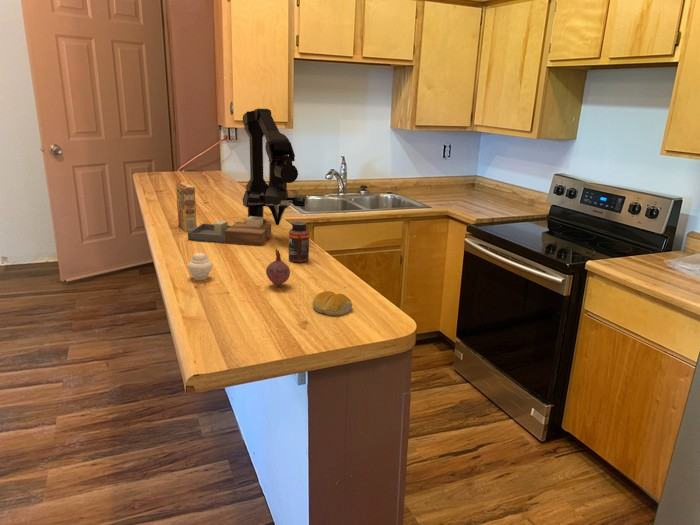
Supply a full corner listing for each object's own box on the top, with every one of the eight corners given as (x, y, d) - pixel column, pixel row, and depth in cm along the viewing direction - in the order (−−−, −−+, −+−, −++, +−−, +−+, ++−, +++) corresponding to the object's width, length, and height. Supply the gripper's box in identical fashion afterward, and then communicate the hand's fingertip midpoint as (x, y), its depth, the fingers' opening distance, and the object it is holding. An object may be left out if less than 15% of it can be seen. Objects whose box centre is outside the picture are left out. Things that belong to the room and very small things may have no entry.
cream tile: (249, 223, 181) (249, 216, 181) (262, 224, 181) (262, 217, 180) (246, 226, 177) (245, 219, 176) (259, 227, 177) (259, 220, 176)
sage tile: (221, 237, 175) (214, 236, 176) (227, 234, 179) (220, 233, 180) (221, 224, 174) (214, 223, 175) (227, 221, 178) (220, 220, 179)
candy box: (197, 230, 184) (195, 186, 179) (185, 232, 182) (183, 187, 177) (189, 225, 191) (187, 182, 186) (177, 226, 189) (175, 182, 184)
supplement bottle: (311, 259, 160) (313, 222, 157) (303, 264, 155) (304, 226, 152) (293, 256, 162) (294, 219, 159) (284, 261, 157) (285, 223, 153)
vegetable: (278, 280, 141) (278, 244, 138) (295, 286, 137) (296, 249, 134) (260, 286, 136) (261, 248, 133) (277, 292, 133) (278, 253, 130)
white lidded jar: (199, 284, 135) (198, 257, 133) (182, 278, 138) (181, 252, 136) (217, 277, 140) (217, 252, 138) (201, 272, 143) (200, 247, 141)
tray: (202, 230, 185) (202, 223, 184) (235, 233, 184) (235, 226, 183) (188, 240, 172) (187, 232, 171) (223, 243, 171) (223, 235, 171)
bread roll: (325, 299, 130) (325, 284, 129) (356, 309, 126) (357, 293, 125) (304, 310, 124) (305, 293, 122) (336, 320, 119) (337, 303, 118)
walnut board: (236, 233, 184) (236, 221, 182) (271, 235, 183) (271, 224, 182) (224, 243, 171) (224, 231, 170) (261, 246, 170) (261, 233, 169)
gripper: (242, 179, 167) (243, 228, 171) (302, 183, 165) (300, 232, 170) (252, 174, 177) (252, 220, 182) (308, 178, 176) (306, 224, 181)
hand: (277, 224), depth 178 cm, fingers closed
